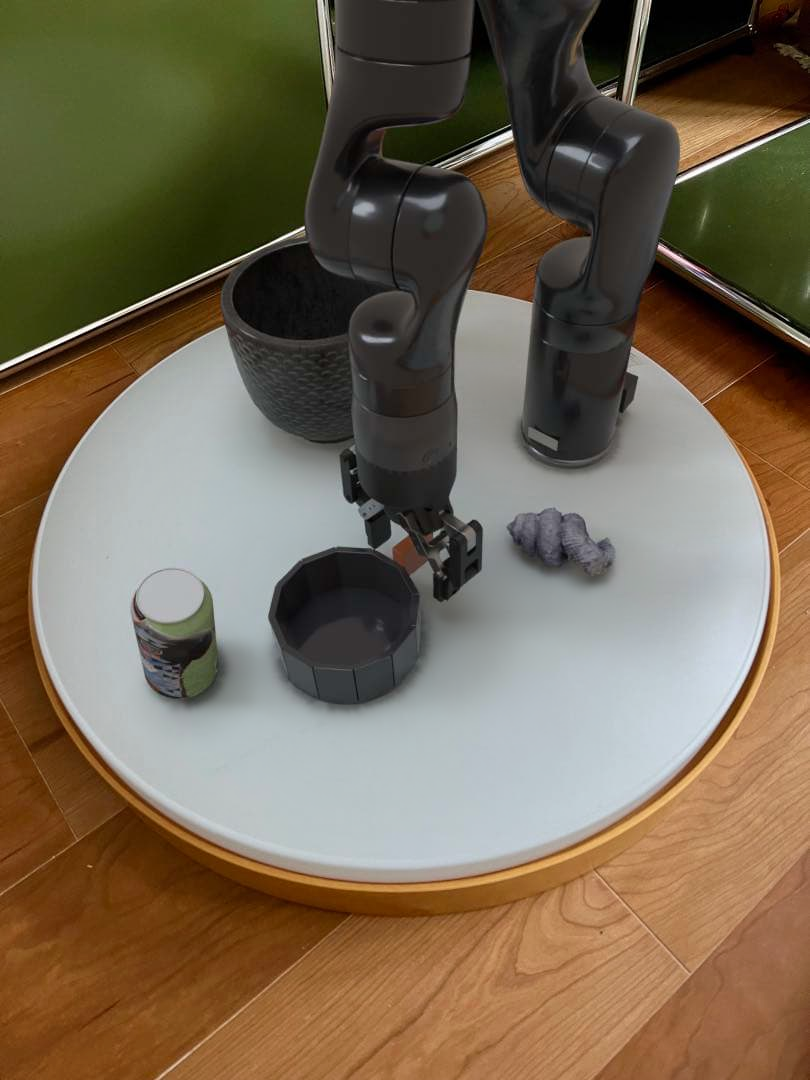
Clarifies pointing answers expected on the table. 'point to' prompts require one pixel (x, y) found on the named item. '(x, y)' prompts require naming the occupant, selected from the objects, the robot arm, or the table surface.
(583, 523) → the seashell
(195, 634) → the beverage can
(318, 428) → the planter
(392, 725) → the table surface
